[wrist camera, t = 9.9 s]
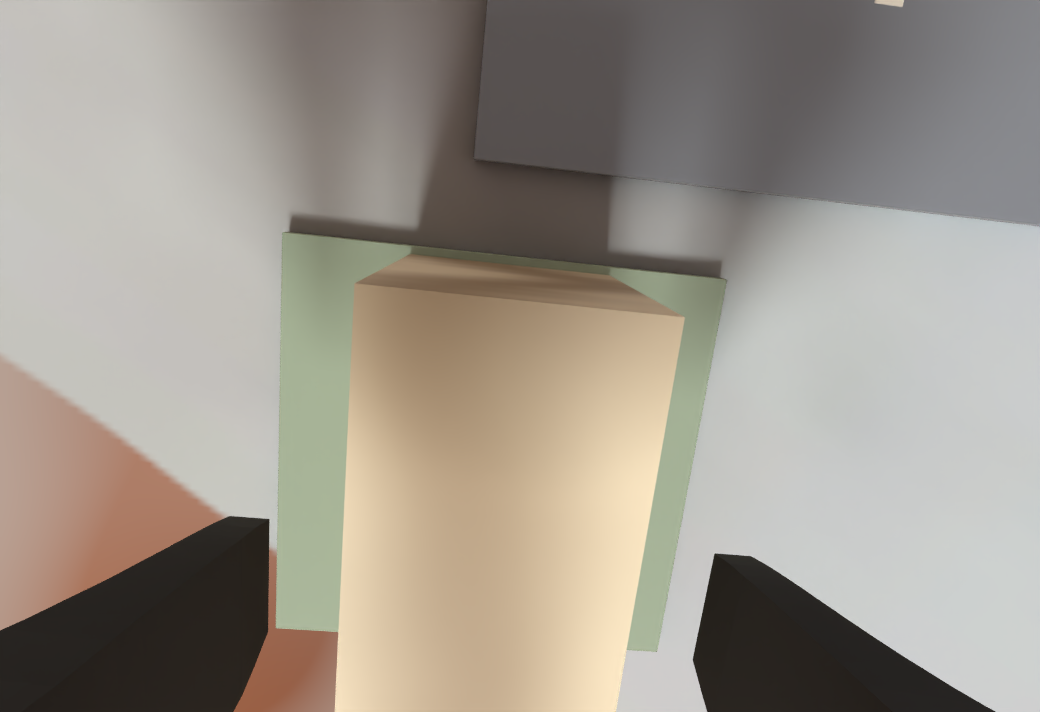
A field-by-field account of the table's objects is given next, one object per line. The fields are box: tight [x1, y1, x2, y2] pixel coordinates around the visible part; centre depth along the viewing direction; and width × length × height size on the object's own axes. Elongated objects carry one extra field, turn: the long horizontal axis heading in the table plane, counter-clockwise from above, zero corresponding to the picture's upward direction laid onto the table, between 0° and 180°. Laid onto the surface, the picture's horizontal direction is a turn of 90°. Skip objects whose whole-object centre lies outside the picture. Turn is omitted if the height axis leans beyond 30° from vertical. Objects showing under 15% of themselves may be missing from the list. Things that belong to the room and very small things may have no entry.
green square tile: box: [276, 232, 727, 652], centre depth 15 cm, size 10×10×1 cm
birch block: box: [335, 254, 685, 712], centre depth 12 cm, size 4×9×6 cm, turn 174°
